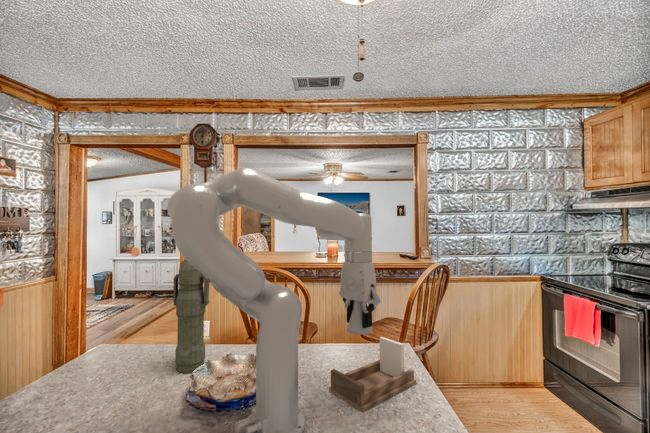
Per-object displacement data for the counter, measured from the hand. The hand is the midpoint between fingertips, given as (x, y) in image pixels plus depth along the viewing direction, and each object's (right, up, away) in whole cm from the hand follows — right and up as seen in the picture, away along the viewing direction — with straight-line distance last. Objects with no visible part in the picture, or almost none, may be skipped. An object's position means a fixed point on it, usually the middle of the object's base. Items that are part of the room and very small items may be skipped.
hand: (359, 323), depth 85 cm
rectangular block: (+11, -18, +8) cm, 22 cm away
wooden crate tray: (+4, -19, +3) cm, 20 cm away
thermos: (-53, -20, +16) cm, 59 cm away
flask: (0, -2, 0) cm, 2 cm away
